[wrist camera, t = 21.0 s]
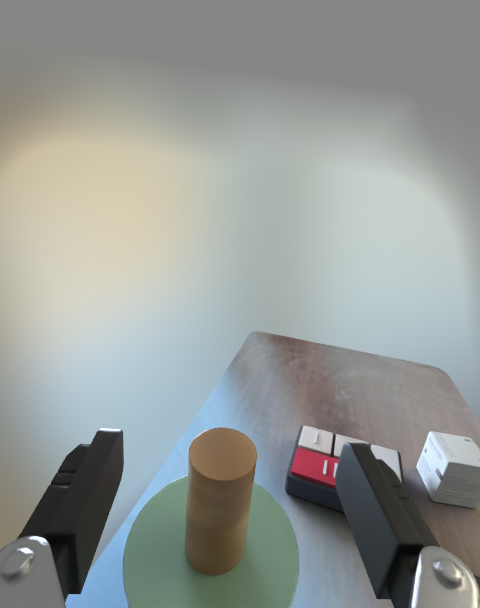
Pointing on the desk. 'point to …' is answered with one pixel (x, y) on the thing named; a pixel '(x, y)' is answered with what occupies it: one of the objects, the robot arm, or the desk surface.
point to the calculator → (326, 465)
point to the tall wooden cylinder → (218, 499)
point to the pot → (194, 584)
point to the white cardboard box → (451, 469)
